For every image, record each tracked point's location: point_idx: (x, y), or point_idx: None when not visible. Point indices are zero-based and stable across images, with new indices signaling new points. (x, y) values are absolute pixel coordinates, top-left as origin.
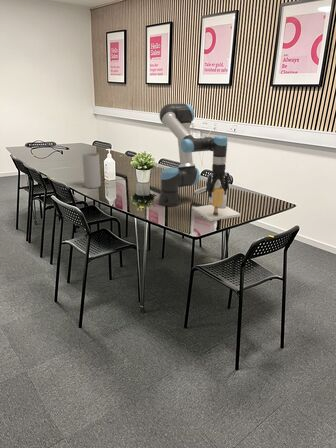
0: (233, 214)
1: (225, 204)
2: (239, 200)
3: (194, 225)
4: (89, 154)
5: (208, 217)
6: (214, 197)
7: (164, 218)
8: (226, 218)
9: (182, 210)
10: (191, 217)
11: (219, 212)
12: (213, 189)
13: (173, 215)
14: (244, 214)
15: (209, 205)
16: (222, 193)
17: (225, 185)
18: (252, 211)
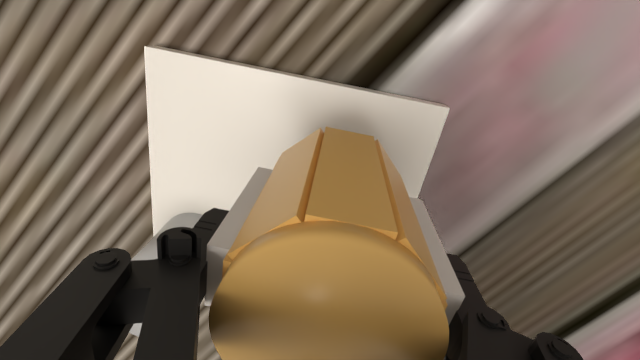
0: (208, 73)
1: (166, 228)
2: (3, 268)
3: (605, 108)
4: None
5: (431, 140)
6: (414, 221)
7: (624, 304)
8: (289, 73)
9: None
10: (481, 230)
11: None
12: (439, 345)
13: (538, 309)
14: (101, 58)
15: None
16: (302, 196)
17: (101, 351)
18: (5, 71)
